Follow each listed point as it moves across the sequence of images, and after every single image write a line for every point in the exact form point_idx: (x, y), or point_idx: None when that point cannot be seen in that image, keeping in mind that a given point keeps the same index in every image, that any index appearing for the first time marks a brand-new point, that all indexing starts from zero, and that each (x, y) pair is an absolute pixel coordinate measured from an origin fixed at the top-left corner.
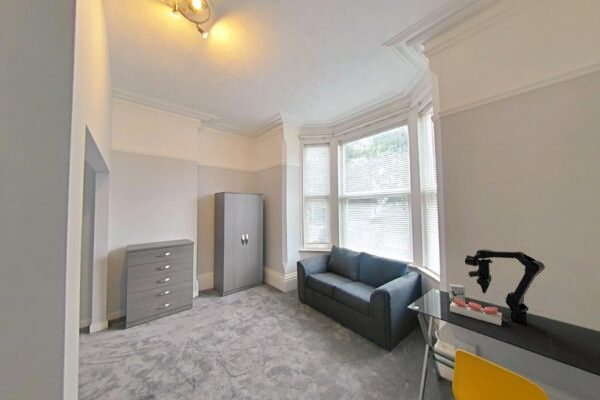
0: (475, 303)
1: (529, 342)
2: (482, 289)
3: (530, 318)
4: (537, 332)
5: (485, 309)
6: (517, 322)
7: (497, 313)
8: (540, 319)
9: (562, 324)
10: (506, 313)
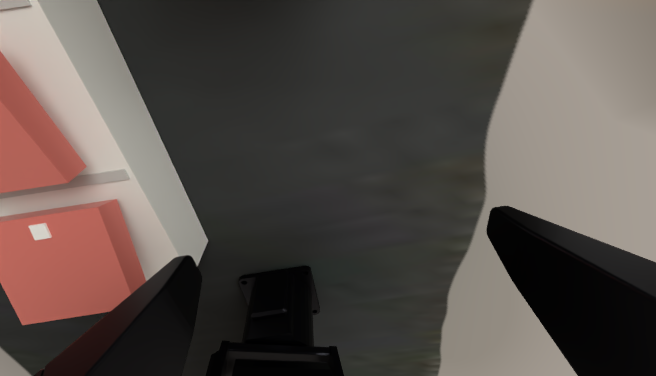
0: (9, 124)
1: (51, 351)
2: (88, 347)
3: (382, 307)
4: (213, 346)
5: (11, 233)
6: (245, 294)
7: (146, 266)
8: (404, 327)
9: (408, 366)
10: (359, 231)
